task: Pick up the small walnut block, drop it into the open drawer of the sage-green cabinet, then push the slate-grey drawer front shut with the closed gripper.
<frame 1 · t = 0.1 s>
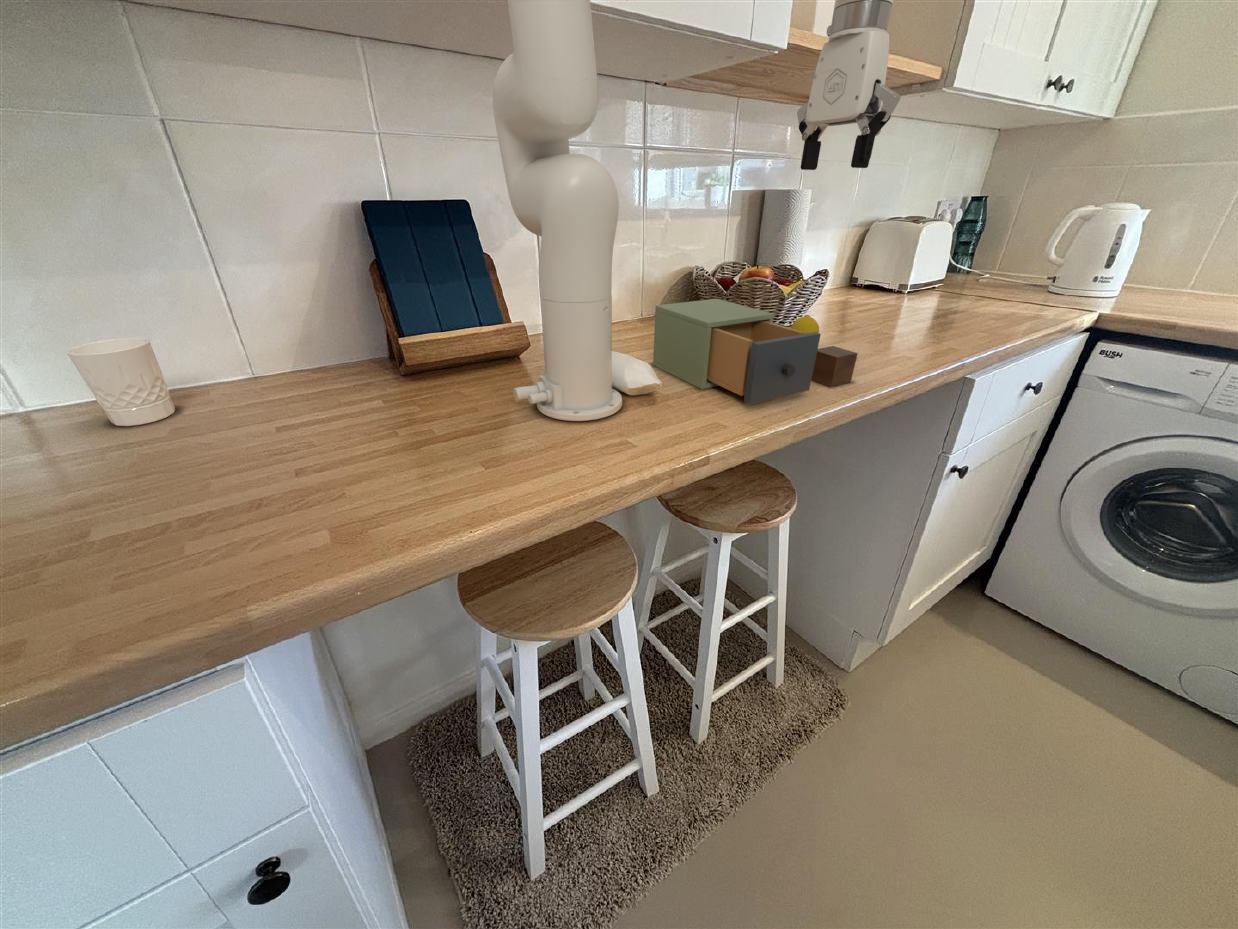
hand: (832, 168, 77), 31 cm above the countertop, tool pointing down, fingers open, 9 cm apart
block: (828, 380, 84), on the countertop
drawer: (755, 357, 77), point 5 cm above the countertop, slide at 9.0 cm
white cup: (145, 418, 68), on the countertop
white pouch: (632, 395, 77), on the countertop, touching arm
lemon: (799, 357, 95), on the countertop
cabinet: (707, 370, 88), on the countertop
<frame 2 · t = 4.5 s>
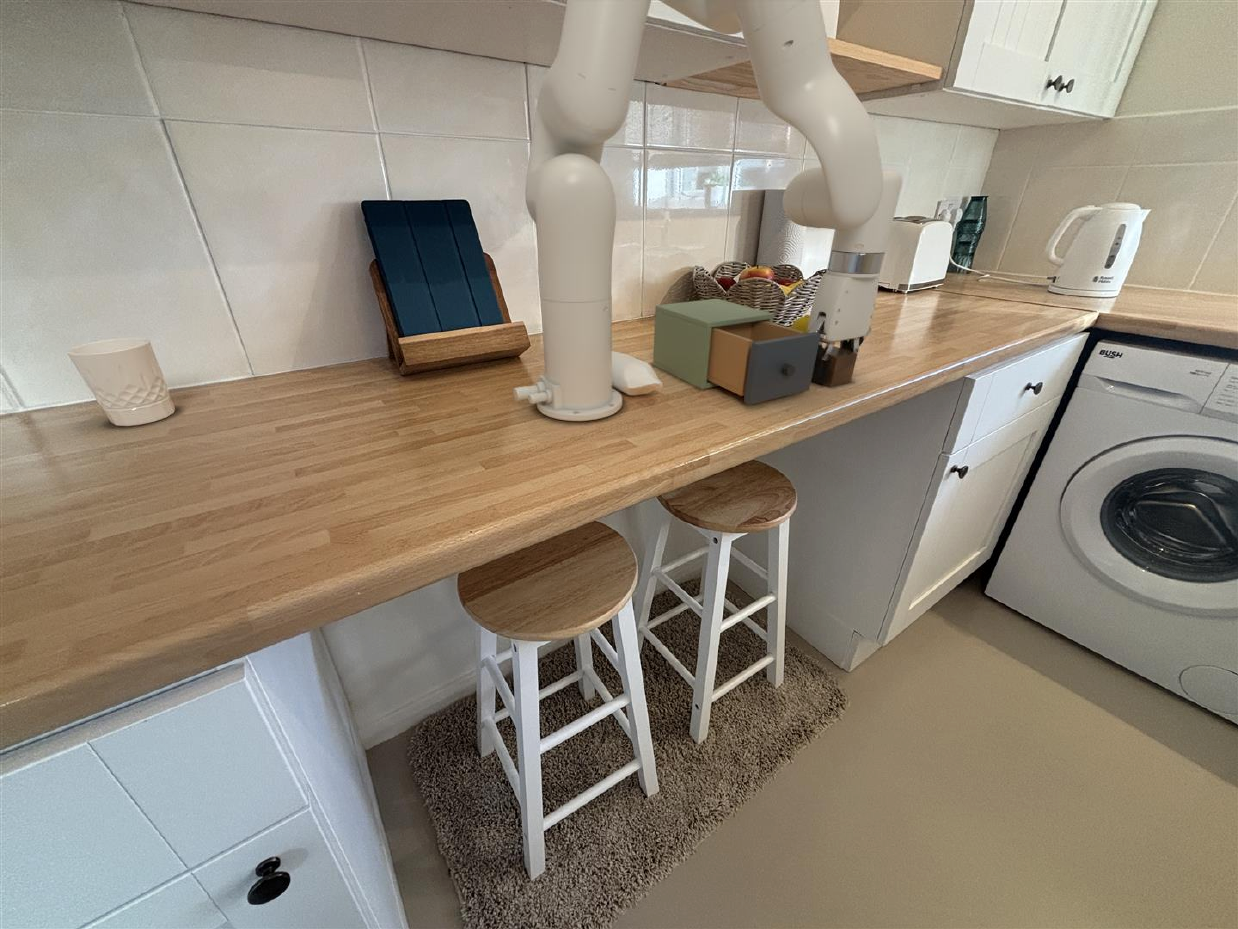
hand: (829, 377, 83), 0 cm above the countertop, tool pointing down, fingers closed on block, 5 cm apart
block: (828, 380, 84), on the countertop, touching gripper
everything else where it was.
when the fingers open (9 cm above the countertop, at t = 11.1 s): block moves 1 cm, resting on drawer.
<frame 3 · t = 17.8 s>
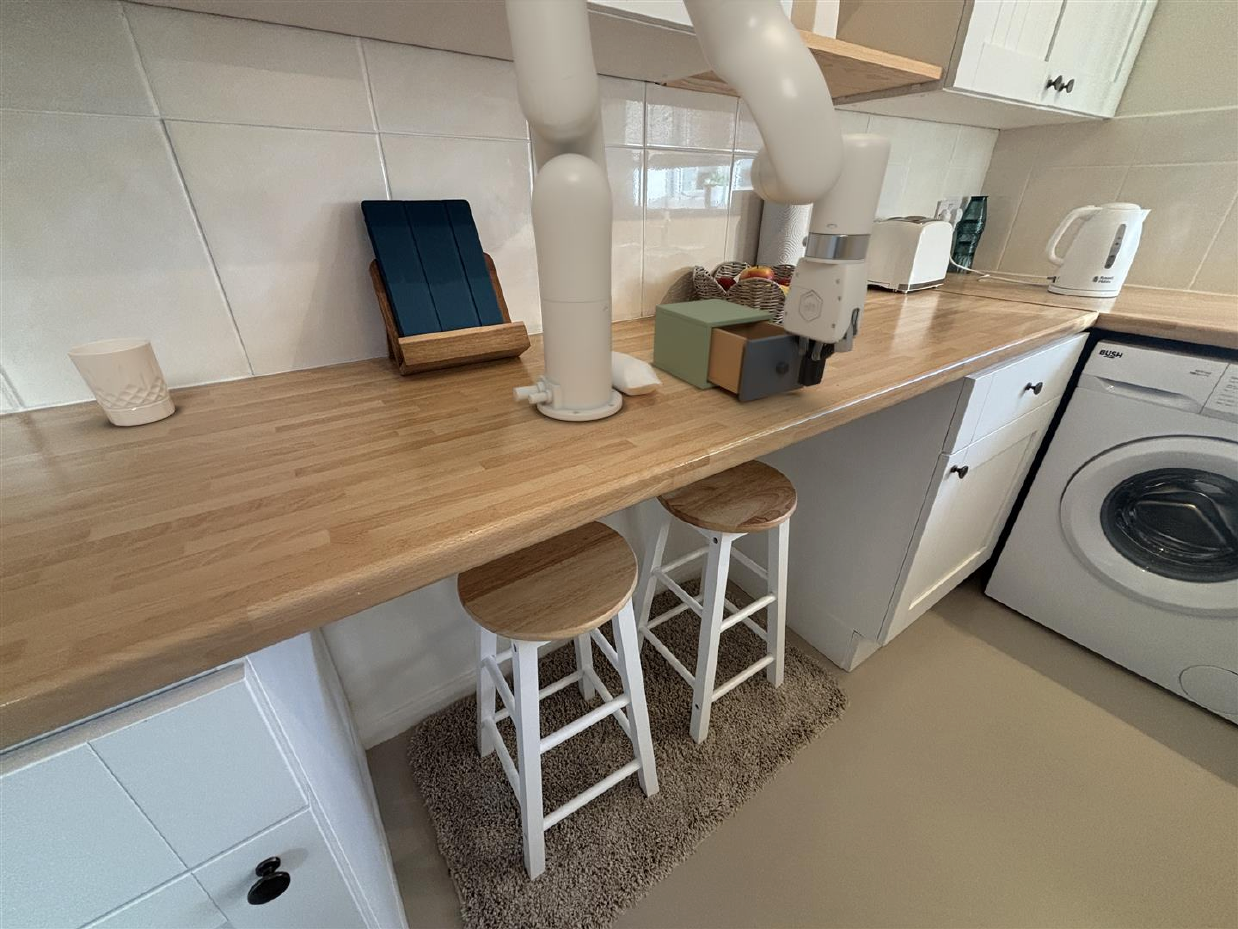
hand: (808, 383, 73), 3 cm above the countertop, tool pointing down, fingers closed
block: (750, 377, 79), point 2 cm above the countertop, touching drawer
drawer: (750, 356, 77), point 5 cm above the countertop, slide at 7.9 cm, touching block, gripper
everything else where it was.
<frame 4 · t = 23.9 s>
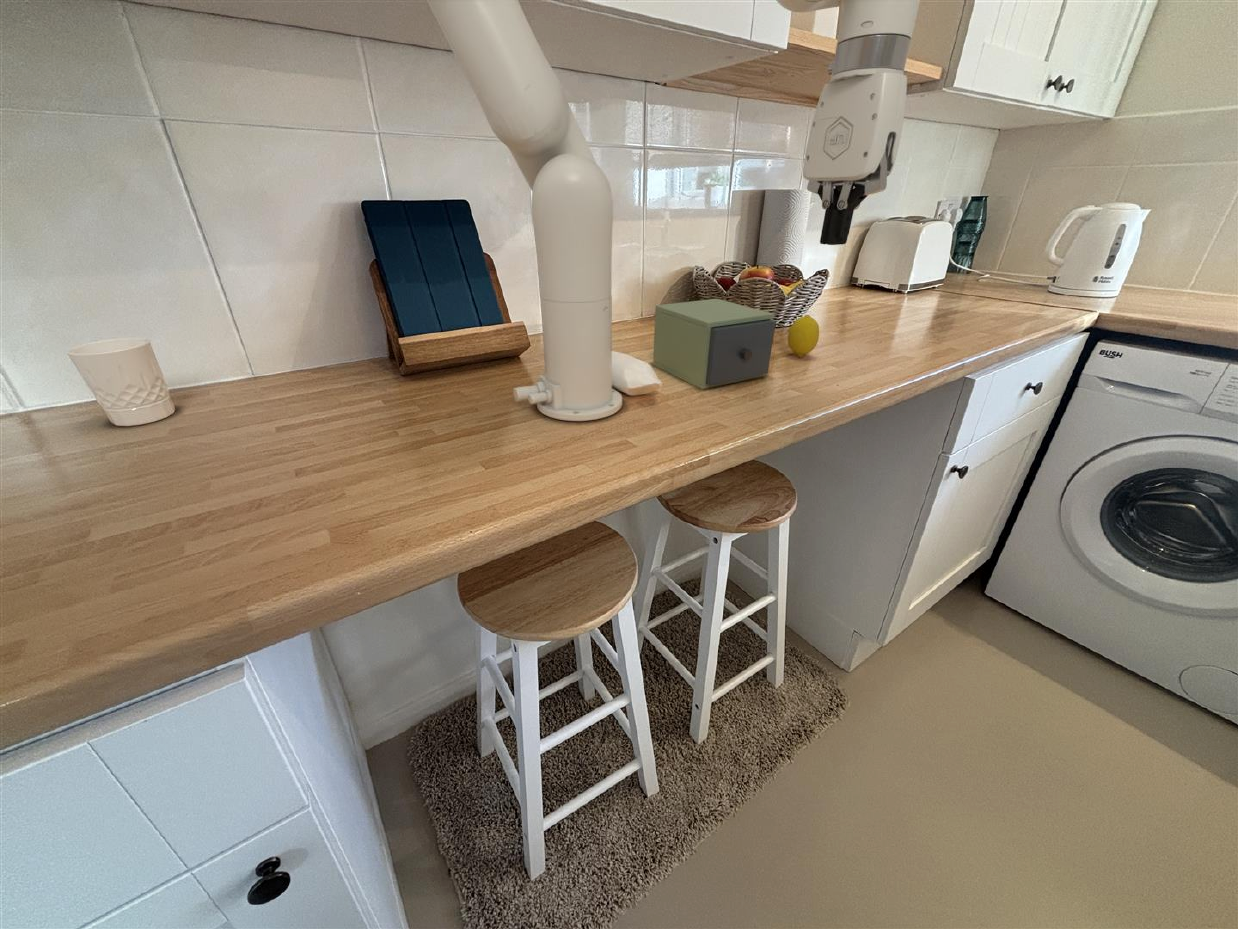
hand: (832, 243, 64), 22 cm above the countertop, tool pointing down, fingers closed
block: (718, 364, 85), point 2 cm above the countertop, touching drawer
drawer: (718, 344, 83), point 5 cm above the countertop, slide at 0.0 cm, touching block, cabinet
everything else where it was.
at the end: block inside the target area in the cabinet (3.0 cm from its centre), point 2.0 cm above the cabinet's base; drawer slide at 0.0 cm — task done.
